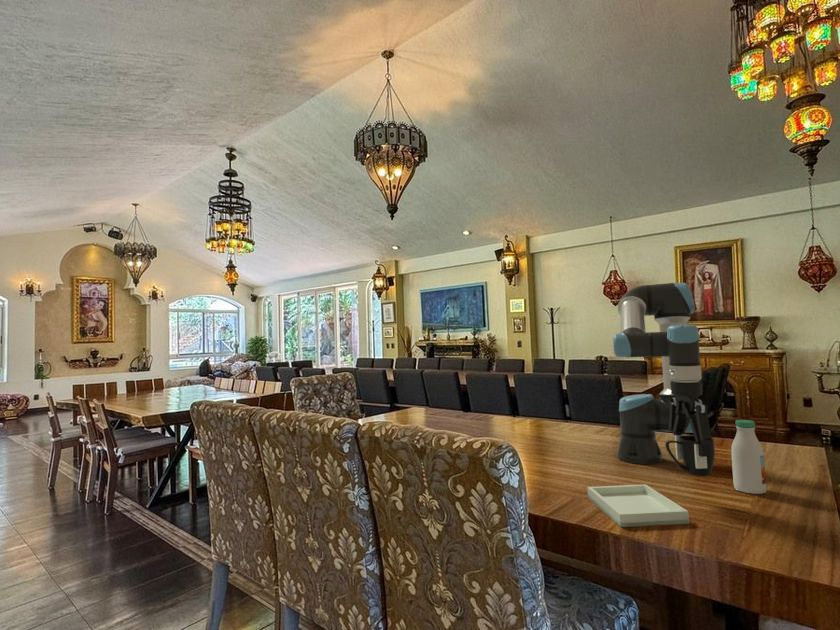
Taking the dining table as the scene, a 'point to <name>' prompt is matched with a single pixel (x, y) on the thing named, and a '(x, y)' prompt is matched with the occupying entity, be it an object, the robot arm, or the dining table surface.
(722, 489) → the dining table surface
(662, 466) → the dining table surface
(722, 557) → the dining table surface
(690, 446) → the mug
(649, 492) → the tray
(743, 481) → the milk bottle
